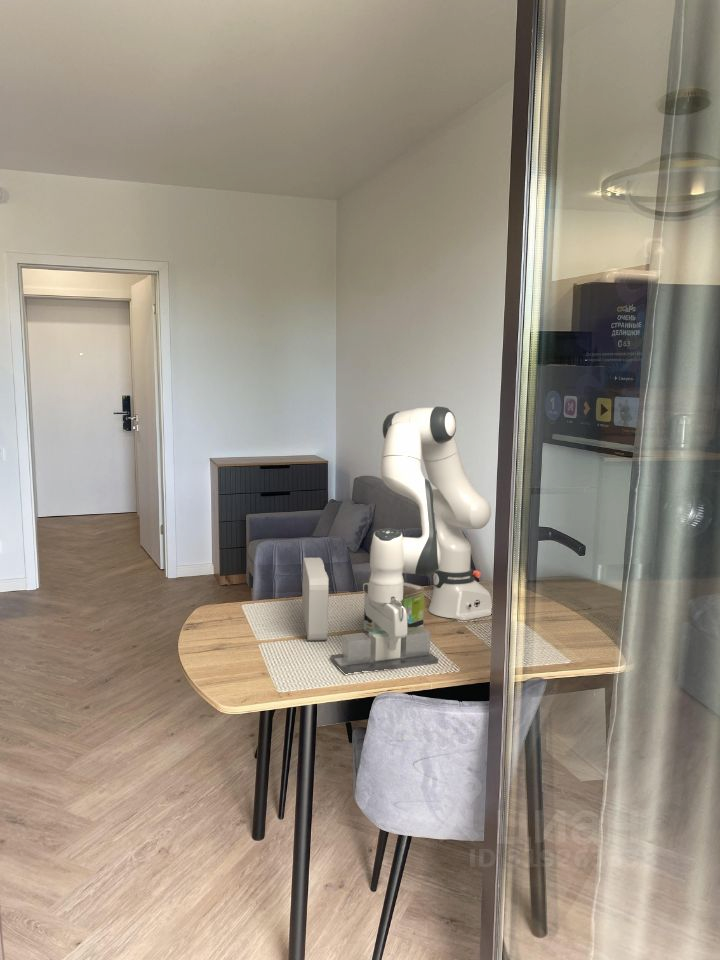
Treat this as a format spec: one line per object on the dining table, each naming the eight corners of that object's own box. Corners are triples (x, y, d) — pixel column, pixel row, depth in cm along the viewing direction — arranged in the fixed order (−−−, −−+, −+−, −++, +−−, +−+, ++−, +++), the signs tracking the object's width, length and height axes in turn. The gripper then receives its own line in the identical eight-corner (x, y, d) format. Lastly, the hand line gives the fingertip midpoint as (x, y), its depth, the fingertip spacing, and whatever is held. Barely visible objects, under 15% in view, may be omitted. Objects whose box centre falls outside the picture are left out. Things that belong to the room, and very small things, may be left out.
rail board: (419, 648, 203) (420, 622, 202) (438, 663, 192) (439, 635, 191) (330, 659, 193) (330, 632, 192) (344, 675, 183) (345, 646, 182)
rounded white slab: (335, 642, 206) (336, 580, 203) (308, 643, 205) (309, 580, 202) (326, 610, 234) (327, 555, 231) (302, 611, 233) (303, 555, 230)
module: (392, 650, 196) (393, 628, 195) (400, 657, 192) (401, 634, 191) (368, 653, 194) (368, 631, 193) (375, 660, 189) (376, 637, 188)
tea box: (424, 635, 213) (426, 586, 211) (402, 644, 206) (404, 593, 204) (384, 623, 223) (385, 576, 221) (362, 631, 216) (363, 582, 214)
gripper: (414, 602, 182) (412, 656, 184) (382, 580, 201) (380, 629, 203) (391, 604, 180) (389, 659, 181) (360, 582, 198) (359, 632, 200)
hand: (384, 643), depth 192 cm, fingers open, 8 cm apart
